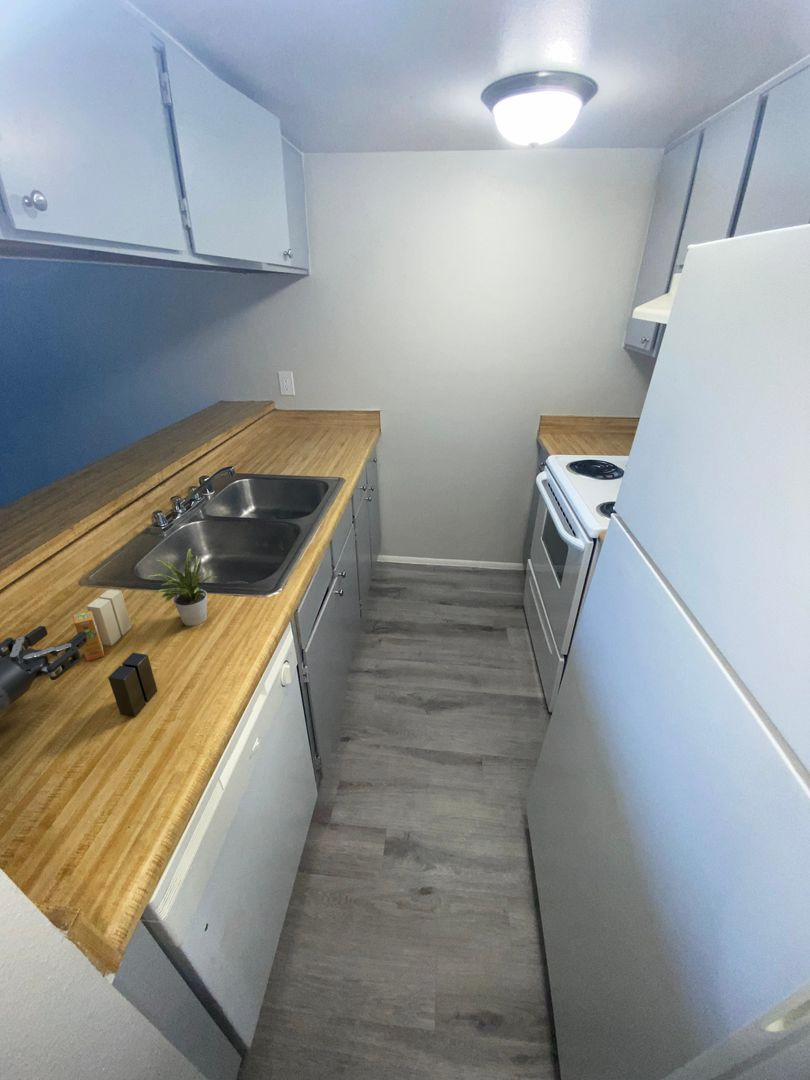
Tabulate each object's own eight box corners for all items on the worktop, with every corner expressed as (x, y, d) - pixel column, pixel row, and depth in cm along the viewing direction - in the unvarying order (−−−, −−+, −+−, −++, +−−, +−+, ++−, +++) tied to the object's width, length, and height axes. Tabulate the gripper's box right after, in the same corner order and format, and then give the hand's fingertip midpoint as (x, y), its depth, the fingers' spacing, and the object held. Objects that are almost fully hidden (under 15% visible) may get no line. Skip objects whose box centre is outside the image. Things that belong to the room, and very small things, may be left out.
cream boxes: (111, 646, 101) (99, 607, 96) (99, 644, 101) (86, 606, 97) (131, 627, 107) (121, 590, 102) (119, 625, 107) (108, 589, 102)
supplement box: (86, 662, 96) (72, 623, 92) (85, 652, 99) (72, 614, 94) (105, 657, 98) (92, 618, 93) (104, 647, 100) (91, 609, 96)
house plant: (164, 603, 115) (149, 544, 108) (224, 595, 119) (214, 538, 112) (156, 640, 103) (139, 576, 96) (223, 629, 107) (212, 568, 100)
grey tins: (135, 717, 85) (123, 679, 80) (120, 714, 85) (107, 677, 81) (157, 690, 90) (147, 654, 86) (143, 688, 91) (132, 652, 87)
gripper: (17, 683, 73) (93, 620, 88) (-63, 671, 75) (24, 611, 89) (33, 717, 77) (103, 652, 91) (-44, 705, 78) (37, 642, 93)
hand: (64, 632), depth 90 cm, fingers open, 8 cm apart
